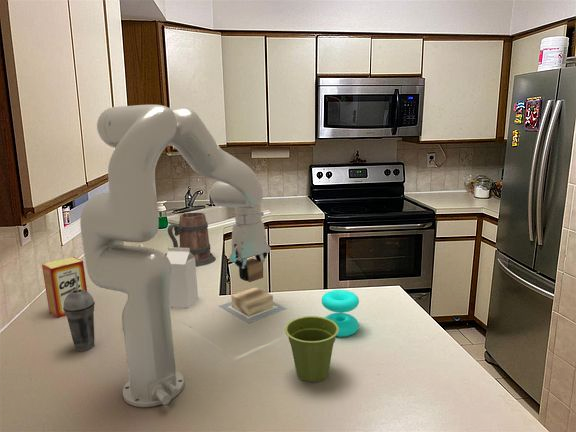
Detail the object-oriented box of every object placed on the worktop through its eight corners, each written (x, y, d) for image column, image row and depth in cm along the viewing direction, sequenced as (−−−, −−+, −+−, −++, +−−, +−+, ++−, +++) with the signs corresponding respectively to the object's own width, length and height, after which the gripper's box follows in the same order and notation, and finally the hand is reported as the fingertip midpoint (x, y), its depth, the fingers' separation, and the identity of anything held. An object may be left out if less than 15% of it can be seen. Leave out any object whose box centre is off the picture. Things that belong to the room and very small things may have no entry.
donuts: (366, 295, 112) (341, 306, 106) (366, 330, 114) (341, 342, 108) (339, 285, 120) (313, 295, 114) (339, 318, 122) (314, 329, 116)
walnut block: (263, 277, 127) (262, 262, 126) (249, 282, 124) (248, 266, 123) (253, 273, 131) (252, 258, 130) (240, 277, 128) (239, 262, 126)
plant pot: (275, 374, 95) (273, 328, 93) (310, 354, 103) (310, 311, 101) (314, 397, 87) (313, 347, 84) (349, 373, 95) (349, 327, 92)
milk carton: (189, 310, 129) (184, 251, 125) (167, 309, 131) (162, 250, 127) (198, 301, 136) (194, 244, 132) (178, 300, 138) (173, 244, 134)
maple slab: (273, 307, 128) (272, 295, 127) (248, 316, 123) (248, 303, 122) (255, 298, 135) (255, 287, 134) (231, 307, 129) (231, 294, 128)
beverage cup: (66, 356, 105) (54, 280, 101) (72, 342, 112) (62, 271, 108) (97, 351, 107) (87, 277, 103) (102, 338, 114) (92, 267, 110)
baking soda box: (80, 302, 138) (73, 255, 135) (89, 307, 134) (82, 259, 130) (49, 312, 131) (41, 263, 128) (57, 318, 127) (50, 267, 123)
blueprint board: (286, 311, 127) (286, 308, 127) (248, 325, 119) (248, 322, 118) (255, 295, 139) (255, 293, 139) (219, 308, 130) (218, 305, 130)
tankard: (198, 252, 190) (194, 208, 186) (224, 258, 180) (221, 212, 176) (153, 266, 172) (148, 218, 168) (180, 274, 162) (175, 224, 158)
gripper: (263, 211, 131) (266, 267, 135) (216, 221, 120) (221, 281, 125) (279, 215, 126) (281, 272, 130) (230, 226, 115) (235, 288, 119)
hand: (251, 276), depth 127 cm, fingers closed on walnut block, 5 cm apart
